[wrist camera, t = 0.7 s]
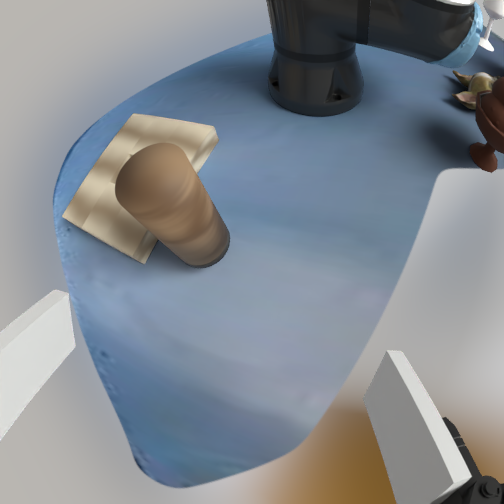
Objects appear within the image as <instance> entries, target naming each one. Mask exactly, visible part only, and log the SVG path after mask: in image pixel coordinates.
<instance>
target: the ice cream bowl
mask: <svg viewBox="0 0 504 504" xmlns="http://www.w3.org/2000/svg"><path fill="white" fill-rule="evenodd" d="M476 122H477V125H478V127H479V129H480V131H481V132H482V134H483V136H484V137H485V139H486V141H487V143H486V145H485V144H482V143H479V142H477V143H475V144H472V145H471V146H470V155H471V157H472V159H473V161H474V162H475V163H476V164H477V165H478V166H479V167H480V168H481V169H482V170H485V171H487V172H491V173H492V172H493V171H495V170H496V169H497V158H496V156H495V154H494V152H495V150H497V151H498V152H501V153H503V154H504V76H503V77H501V78H499V79H497V80H496V81H495V82H494V84H493V87H492V91H491V90H485V91H481V92H477V96H476Z"/></svg>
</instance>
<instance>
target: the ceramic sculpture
mask: <svg viewBox="0 0 504 504" xmlns="http://www.w3.org/2000/svg"><path fill="white" fill-rule="evenodd" d="M453 73H454V74H455V76H456V77H457V78H458V80H459V81H460V82H461V83H462V84H463V85H464V86H465V87H467V88H468V92H466V91H463V92H461V93H459V94H452V96H453V97H454V98H455V99H457V100H458V101H459V102H460V103H462V104H463V105H465V106H466V107H467V108H469V109H476V96H477V92H481V91H485V90H491V91H492V87H493V84H494V82H495V81H496V80H497V79H499V78H501V77H500V76H496V77H495V78H494V77H493V76H491V75H490V74H486V73H484V72H480V73H476V74H474V75H473V76H470V75H469V76H467V75H461V74H459V73H458V72H456V71H454V70H453Z"/></svg>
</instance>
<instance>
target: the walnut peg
mask: <svg viewBox="0 0 504 504" xmlns="http://www.w3.org/2000/svg"><path fill="white" fill-rule="evenodd" d="M115 195H116V198H117V201H118V202H119V204H120V205H121V206H122V207H123V208H124V209H125V210H126V211H128V212H129V213H130V214H131V215H132V216H133V217H134V218H135V219H136V220H137V221H138V222H140V223H141V224H142V225H143V226H144V227H145V228H146V229H147V230H148V231H150V232H151V233H152V234H153V235H154V236H155V237H156V238H157V239H159V240H160V241H161V242H162V243H163V244H164V245H165V246H166V247H168V248H169V249H170V250H171V251H172V252H173V253H174V254H176V255H177V256H178V257H179V258H180V259H181V260H183V261H184V262H185V263H186V264H188V265H189V266H192V267H195V268H206V267H210V266H212V265H214V264H216V263H217V262H219V261H220V260H221V259H222V258H223V257H224V255H225V254H226V252H227V250H228V248H229V244H230V234H229V231H228V229H227V227H226V225H225V223H224V221H223V220H222V218H221V216H220V214H219V213H218V211H217V209H216V207H215V206H214V204H213V202H212V200H211V199H210V197H209V195H208V193H207V191H206V190H205V188H204V186H203V184H202V183H201V181H200V179H199V177H198V175H197V174H196V172H195V170H194V168H193V166H192V165H191V163H190V161H189V159H188V158H187V156H186V154H185V152H184V151H183V150H182V149H181V148H180V147H179V146H177V145H175V144H171V143H157V144H153V145H150V146H147V147H145V148H143V149H141V150H140V151H138V152H137V153H135V154H134V155H133V156H132V157H131V158H129V160H128V161H127V162H126V163H125V164H124V166H123V167H122V169H121V170H120V172H119V174H118V176H117V179H116V183H115Z"/></svg>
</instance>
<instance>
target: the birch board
mask: <svg viewBox="0 0 504 504" xmlns="http://www.w3.org/2000/svg"><path fill="white" fill-rule="evenodd" d="M218 141H219V139H218V136H217V133H216V131H215V128H214V126H209V125H204V124H199V123H194V122H188V121H182V120H176V119H170V118H164V117H157V116H150V115H142V114H134V113H133V114H132V116H131V117H130V118H129V119H128V121H127V122H126V123H125V124H124V126H123V127H122V128H121V129H120V131H119V132H118V133H117V135H116V136H115V137H114V138H113V140H112V141H111V142H110V144H109V145H108V146H107V148H106V149H105V151H104V152H103V153H102V155H101V156H100V158H99V159H98V160H97V162H96V163H95V165H94V166H93V168H92V169H91V171H90V172H89V174H88V175H87V177H86V178H85V180H84V181H83V183H82V184H81V186H80V187H79V189H78V191H77V192H76V194H75V195H74V197H73V199H72V200H71V202H70V204H69V205H68V207H67V209H66V211H65V212H64V214H63V216H62V217H63V218H65V219H66V220H68V221H69V222H71V223H72V224H73V225H75V226H77V227H78V228H80V229H82V230H84V231H85V232H87V233H89V234H90V235H92V236H94V237H96V238H97V239H99V240H101V241H103V242H104V243H106V244H108V245H110V246H112V247H113V248H115V249H117V250H119V251H120V252H122V253H124V254H126V255H128V256H130V257H131V258H133V259H135V260H137V261H139V262H141V263H142V264H144V265H145V263H146V261H147V259H148V257H149V255H150V253H151V252H152V250H153V248H154V246H155V244H156V242H157V241H158V239H157V238H156V237H155V236H154V235H153V234H152V233H151V232H150V231H148V230H147V229H146V228H145V227H144V226H143V225H142V224H141V223H140V222H138V221H137V220H136V219H135V218H134V217H133V216H132V215H131V214H130V213H129V212H128V211H126V210H125V209H124V208H123V207H122V206H121V205H120V204H119V202H118V201H117V198H116V195H115V183H116V179H117V176H118V174H119V172H120V170H121V169H122V167H123V166H124V164H125V163H126V162H127V161H128V160H129V158H131V157H132V156H133V155H134V154H135V153H137V152H138V151H140V150H141V149H143V148H145V147H147V146H150V145H153V144H157V143H171V144H175V145H177V146H179V147H180V148H181V149H182V150H183V151H184V152H185V154H186V156H187V158H188V159H189V161H190V163H191V165H192V166H193V168H194V170H195V172H196V174H197V173H198V172H199V170H200V169H201V167H202V166H203V164H204V162H205V161H206V159H207V158H208V156H209V155H210V153H211V152H212V150H213V149H214V147H215V146H216V144H217V143H218Z"/></svg>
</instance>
